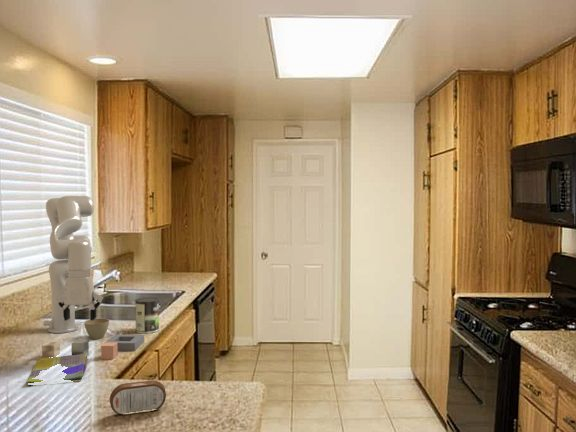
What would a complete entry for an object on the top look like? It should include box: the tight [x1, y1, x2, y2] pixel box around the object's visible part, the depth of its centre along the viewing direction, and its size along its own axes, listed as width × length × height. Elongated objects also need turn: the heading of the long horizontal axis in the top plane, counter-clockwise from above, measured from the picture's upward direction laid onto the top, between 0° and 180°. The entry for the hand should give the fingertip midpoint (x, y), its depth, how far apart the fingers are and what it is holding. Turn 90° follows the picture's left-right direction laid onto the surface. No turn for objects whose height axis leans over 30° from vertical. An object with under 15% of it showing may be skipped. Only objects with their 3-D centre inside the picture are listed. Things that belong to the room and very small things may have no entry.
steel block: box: [71, 339, 90, 357], centre depth 188 cm, size 4×4×6 cm
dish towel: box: [26, 354, 89, 385], centre depth 172 cm, size 18×24×3 cm
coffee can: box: [134, 296, 160, 334], centre depth 226 cm, size 10×10×14 cm
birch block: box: [41, 341, 61, 359], centre depth 188 cm, size 4×4×5 cm
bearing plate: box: [104, 334, 145, 352], centre depth 202 cm, size 12×12×3 cm
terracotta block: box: [100, 341, 119, 360], centre depth 188 cm, size 4×4×5 cm
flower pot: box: [83, 317, 110, 340], centre depth 214 cm, size 10×10×7 cm
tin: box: [109, 379, 167, 415], centre depth 140 cm, size 15×3×8 cm, turn 111°
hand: (80, 319), depth 187 cm, fingers open, 9 cm apart
